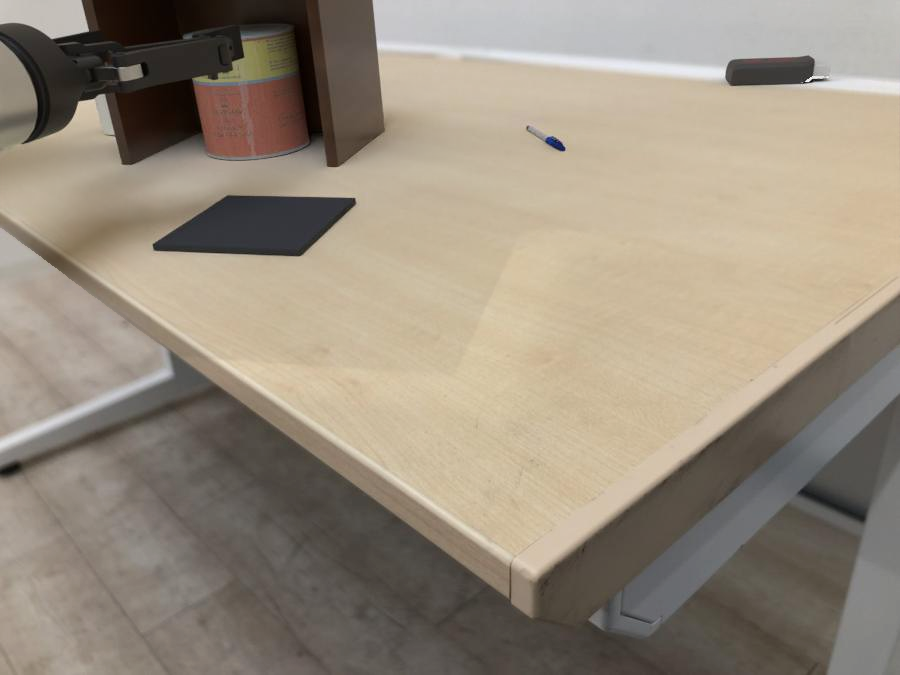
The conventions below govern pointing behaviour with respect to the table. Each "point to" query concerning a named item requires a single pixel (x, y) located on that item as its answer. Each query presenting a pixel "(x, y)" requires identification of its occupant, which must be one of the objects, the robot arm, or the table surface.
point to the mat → (257, 225)
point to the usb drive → (775, 70)
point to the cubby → (242, 3)
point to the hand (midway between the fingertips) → (168, 43)
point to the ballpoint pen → (547, 138)
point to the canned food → (255, 98)
